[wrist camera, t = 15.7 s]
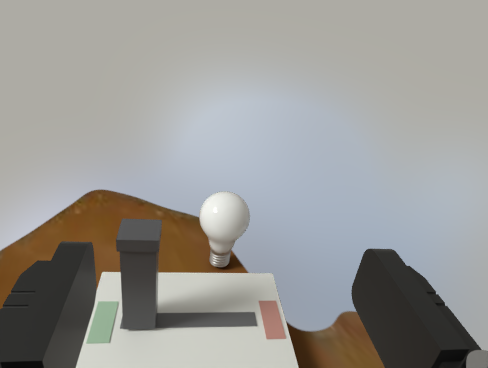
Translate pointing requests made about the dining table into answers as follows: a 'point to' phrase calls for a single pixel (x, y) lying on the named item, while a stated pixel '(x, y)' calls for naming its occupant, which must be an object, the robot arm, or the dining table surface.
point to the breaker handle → (139, 271)
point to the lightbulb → (223, 224)
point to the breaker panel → (193, 325)
